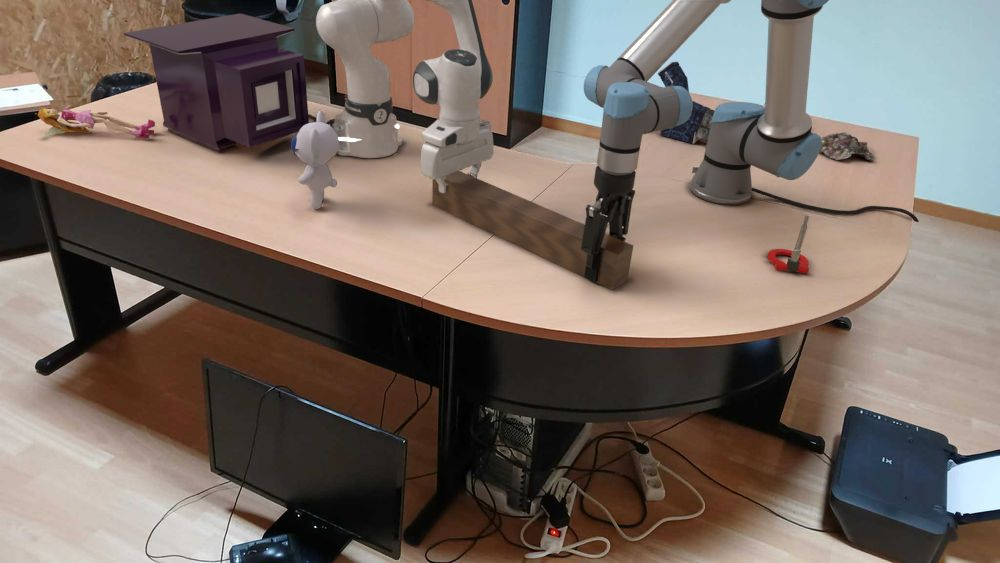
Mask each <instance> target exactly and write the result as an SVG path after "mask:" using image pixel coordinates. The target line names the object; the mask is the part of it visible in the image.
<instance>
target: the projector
mask: <svg viewBox="0 0 1000 563" xmlns="http://www.w3.org/2000/svg"><path fill="white" fill-rule="evenodd" d="M294 31H295V28H294V27H292V26H287V25H283V24H279V23H276V22H272V21H269V20H264V19H262V18H259V17H256V16H255V17H254V16H252V15H247V14H244V13H235V14H230V15H224V16H217V17H212V18H205V19H200V20H194V21H188V22H181V23H175V24H169V25H163V26H157V27H151V28H146V29H145V28H144V29H139V30H134V31H128V32H123V36H125V37H127V38H130V39H133V40H136V41H138V42H142V43H145V44H148V45H149V50H150V54H151V60H152V66H153V71H154V75H155V76H154V77H155V82H156V87H157V92H158V97H159V102H160V107H161V113H162V118H163V122H162V126H163V127H165V128H166V129H167V131H168V132H170V133H172V134H175V135H177V136H179V137H182V138H184V139H187V140H189V141H191V142H193V143H196V144H197V145H200V146H203V147H205V148H207V149H209V150H212V151H215V152H217V153H219V154H220V153H224V152H227V151H229V150H233V149H235V148H237V144H240V145H242V146H245V147H247V148H249V149H250V148H253V147H256V146H259V145H262V144H266V143H269V142H271V141H275V140H278V139H281V138H285V137H287V136H289V135H293V134H296V133H299V131H300V129H301V128H302V127H303V126H304V125H306V124H308V123H310V117H309V116H308V114H309V105H308V94H307V93H308V92H307V80H306V79H307V78H306V68H305V56H304V54H303V53H302V54H301V53H297V52H296V51H295V52H294V51H291V50H288V49H285V48H282V47H279V44H278V40H277V38H280V37H282V36H286V35H287V34H291V33H292V32H294Z"/></svg>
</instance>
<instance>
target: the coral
mask: <svg viewBox="0 0 1000 563" xmlns="http://www.w3.org/2000/svg"><path fill="white" fill-rule="evenodd" d="M821 140H822V144H821V148H820V151H819V153H824V155H825V156H827V157H828V158H830V159H832V160H835V161H839V160H840V161H841V160H844V159H848V158H851V157H852V155H853V154H854V155H857V154H859V155H860V156H861V158H863V159H865V160H866V161H871V162H874V160H875V159H874V158H875V155H874V154H873V153H872V152H871V151H870V149H869V147H868V142H867V141H859V139H858V137H855V136H853V135H852V134H851V133H849V132H848V131H846V132H844V131H843V132H836V133H830V134H827V135H826V136H822V137H821ZM873 157H874V158H873Z"/></svg>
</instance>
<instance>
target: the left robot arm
mask: <svg viewBox="0 0 1000 563" xmlns="http://www.w3.org/2000/svg"><path fill="white" fill-rule="evenodd" d="M425 1H426V2H429V3H433V4H434V5H437V6H439V7H441V8H442V9H444V10H445V11H446V12H447V13H448V14H449V16H450V18H451V20H452V23H453V27H454V31H455V35H456V38H457V39H456V40H457V43H458V47H459V48H453V49H448V50H446V51H444V52H443V53H442V55H440V56H439V57H435V58H429V59H424V60H422V61H420V62H419V63H418V64H417V65H416V67H415V69H414V71H413V75H412V86H413V92H414V94H415V96H416V97H418V99H420V100H421V101H422V102H423V103H425V104H428V105H433V106H434V105H437V106H438V107H439V114H438V115H439V116H438V117H439V118H437V119H436V120H434V122H433V123H431V125H429V126H428V127H426V128H425V129H424V130H423V131H422V133H421V140H422V141H424V143H423V144H422V147H421V150H420V172H421V174H422V175H423V176H424V177H426V178H427V179H430V180H432V181H433V180H436V181H437V183H438V184H439V192H441V193H446V192H448V191H449V189H448V188H449V185H448V184H445V182H444V180H445V179H446V175H448V174H451V173H454V172H456V171H461V170H464V169H467V168H470V171H469V172H467V174H468V175H470V176H472V177H475V178H477V179H478V175H479V172H480V170H481V168H482V163H484V162H485V161H488V160H491V159H492V158H493V156H494V153H495V151H494V148H495V146H494V135H493V131H492V123H491V122H490V121H489V120H487V119H482V120H481V113H480V108H479V102H480V100H481V99H483V98H484V97H485V96H486V95H487V94H488V93H489V90H490V89H491V87H492V85H493V81H494V77H493V76H494V73H493V70H492V67H491V64H490V62H489V59H488V57H487V55H486V51H485V48H484V47H485V46H484V43H483V40H482V35H481V30H480V27H479V22H478V19H477V15H476V10H475V7H474V6H475V5H474V3H473V0H425ZM415 19H416V18H415V13H414V9H413V6H412V5H411V4H410V2H409V1H408V0H333V1H331V2H328V3H325V4H323V5H321V6H320V8H319V9H318V11H317V13H316V17H315V26H316V27H315V28H316V31H317V33H318V36H319V37H320V39H321V41H323V42H324V43H325V44H326V45H327V46H329V47H330V48H331V49H333V50H334V52H336V54H337V55H338V56H339V58H340V60H341V62H342V64H343V68H344V70H345V71H344V72H345V80H346V90H347V94H345V95H344V97H345V98H344V100H345V101H344V109H343V110H342V111H341V112H339V114H337V115H336V116H335V117H334V118H331V119H329V120H328V121H326V122H325V123H326V124H328V125H330V126H331V127H332V128H333V129H334V131H335V132H336V134H337V136H338V139H339V148H338V151H337V153H336V154H338V156H342V157H343V156H344V157H355V158H360V159H379V158H385V157H389V156H392V155H394V154H395V153H396V152H397V151H398V149H399V147H400V146H401V145H402V144H403V139H401V138H399V133H398V129H400V124H398V122H397V121H398V120H397V116H396V115H395V114H394V113H393V109H394V108H393V107H394V102H393V97H392V96H391V71H390V68H389V67H388V65H387V64H386V63H385V62H384V61H383V60H381V59H379V58H378V57H375V56H373V54H372V51H371V50H372V49H371V48H372V47H371V46H372V45H374V44H382V43H383V44H384V43H391V42H395V41H398V40H401V39H403V38H406V37H408V36H410V34H411V33H412V31H413V30H414V26H415V21H416V20H415ZM308 116H309V119H312V120H314V122H316V119H317V116H314V115H312V114H309V113H308Z"/></svg>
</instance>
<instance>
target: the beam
mask: <svg viewBox="0 0 1000 563" xmlns="http://www.w3.org/2000/svg"><path fill="white" fill-rule="evenodd" d="M444 182H445V184H448V185H449V188H448V189H449V191H448V192H446V193H441V192H439V184H438V183H437V181H436V180H433V179H432V198H431V199H432V203H431V205H432V206H434V207H435V208H438V209H440V210H442V211H444V212H446V213H448V214H451V215H452V216H454V217H456V218H459V219H461V220H462V221H465V222H467V223H469V224H471V225H474V226H476V227H477V228H479V229H482V230H484V231H486V232H488V233H491V234H492V235H495V236H496V237H499V238H501V239H503V240H505V241H507V242H509V243H512V244H514V245H516V246H518V247H520V248H522V249H524V250H526V251H528V252H530V253H533V254H534V255H537V256H539V257H541V258H543V259H544V260H547V261H550V262H552V263H554V264H556V265H558V266H560V267H562V268H564V269H566V270H569V271H571V272H572V273H574V274H577V275H579V276H581V277H583V278H584V275H585V268H586V260H587V253H586V252H584V251H582V250H581V245H582V239H583V233H584V227H585V223H582V222H580V221H578V220H575V219H573V218H571V217H568V216H566V215H564V214H562V213H559V212H556V211H554V210H552V209H550V208H547V207H545V206H543V205H540V204H538V203H536V202H533V201H531V200H529V199H526V198H524V197H523V196H519V195H517V194H514V193H512V192H510V191H508V190H505V189H503V188H500V187H499V186H495V185H493V184H491V183H489V182H486V181H484V180H482V179H479V178H478V177H477V178H475V177H472V176H470V175H468V173H465V172H463V171H461V170H459V171H456V172H454V173H451V174H448V175H446V179H445V180H444ZM633 251H634V244H631V243H629V242H627V241H626V240H625V241H622V240H620V239H617V238H615V237H613V236H610V235H609V233H607V232H605V235H604V238H603V241H602V244H601V248H600V251H599V252H600V253H602V254H601V260H600V267H599V273H598V280H597V282H595V284H598V285H600V286H602V287H604V288H606V289H608V290H611V291H613V290H615V289H616V288H618V287H620V286H621V285H623V284H624V283H625V282H627V281H628V279H629V274H630V268H631V262H632V257H633V253H634V252H633Z"/></svg>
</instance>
